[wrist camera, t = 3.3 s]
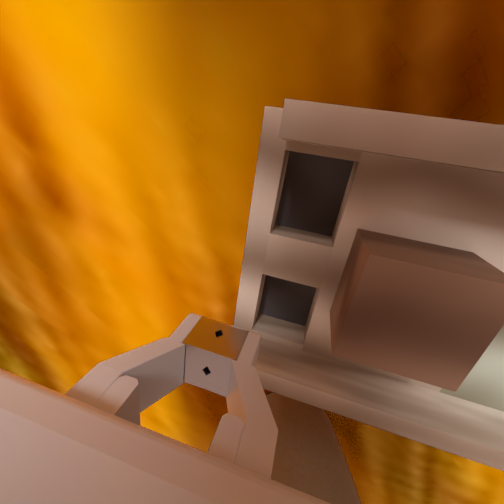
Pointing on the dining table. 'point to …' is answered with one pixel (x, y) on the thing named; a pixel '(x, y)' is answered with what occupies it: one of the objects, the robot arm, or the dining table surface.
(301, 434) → the plant pot
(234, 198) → the dining table surface
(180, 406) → the dining table surface
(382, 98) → the dining table surface
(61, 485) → the robot arm
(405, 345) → the walnut block
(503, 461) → the tray
